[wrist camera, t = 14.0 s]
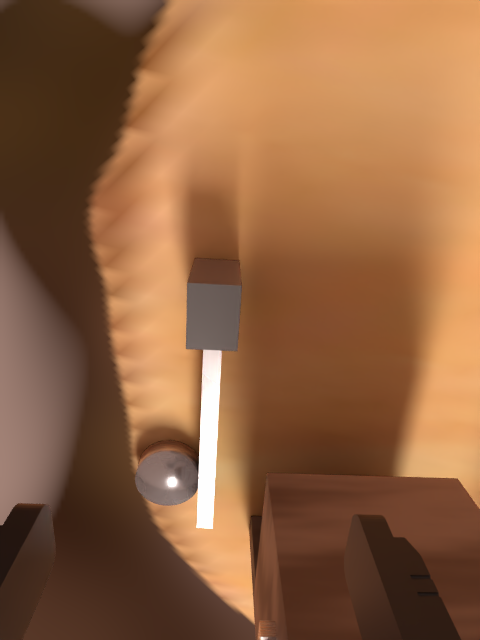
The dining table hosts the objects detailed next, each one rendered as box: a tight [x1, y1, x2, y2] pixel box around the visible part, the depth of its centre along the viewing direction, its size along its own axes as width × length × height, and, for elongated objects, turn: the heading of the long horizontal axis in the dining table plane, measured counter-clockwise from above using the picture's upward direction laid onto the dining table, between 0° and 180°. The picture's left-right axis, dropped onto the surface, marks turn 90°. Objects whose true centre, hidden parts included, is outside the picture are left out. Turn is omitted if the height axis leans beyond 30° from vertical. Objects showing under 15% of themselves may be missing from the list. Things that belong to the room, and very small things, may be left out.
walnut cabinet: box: [249, 473, 480, 640], centre depth 27 cm, size 13×14×19 cm
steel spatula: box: [186, 258, 242, 528], centre depth 30 cm, size 20×3×6 cm, turn 176°
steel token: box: [135, 440, 199, 505], centre depth 34 cm, size 5×5×2 cm
